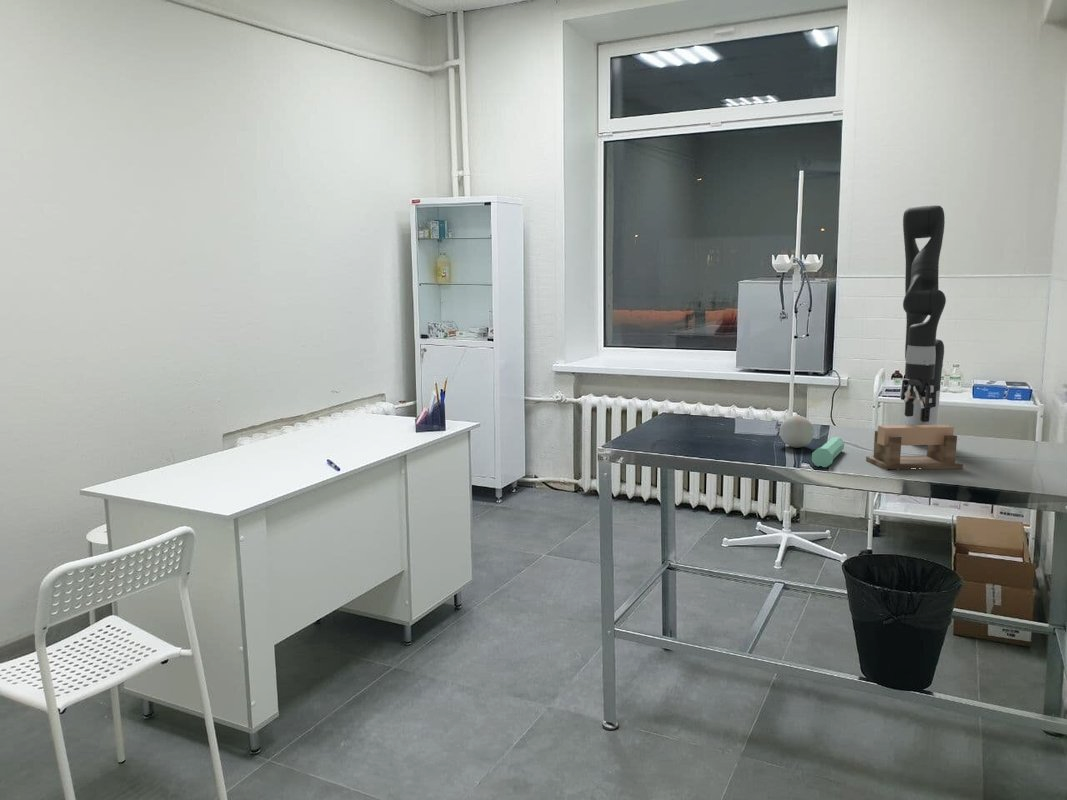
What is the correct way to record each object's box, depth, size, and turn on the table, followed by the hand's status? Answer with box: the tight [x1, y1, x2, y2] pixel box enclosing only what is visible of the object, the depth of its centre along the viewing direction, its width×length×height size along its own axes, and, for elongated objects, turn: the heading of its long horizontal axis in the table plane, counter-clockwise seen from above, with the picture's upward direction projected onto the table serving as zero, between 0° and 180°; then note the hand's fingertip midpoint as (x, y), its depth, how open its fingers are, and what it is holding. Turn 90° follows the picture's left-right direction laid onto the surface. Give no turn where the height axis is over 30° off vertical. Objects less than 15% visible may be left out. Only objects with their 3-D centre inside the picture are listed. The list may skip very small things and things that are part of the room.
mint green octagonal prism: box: [811, 436, 845, 468], centre depth 246 cm, size 6×6×25 cm
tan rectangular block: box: [877, 424, 955, 446], centre depth 237 cm, size 4×20×5 cm, turn 94°
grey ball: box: [779, 415, 815, 449], centre depth 261 cm, size 10×10×10 cm
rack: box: [865, 430, 964, 471], centre depth 237 cm, size 12×22×9 cm, turn 94°
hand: (916, 418), depth 236 cm, fingers open, 8 cm apart
